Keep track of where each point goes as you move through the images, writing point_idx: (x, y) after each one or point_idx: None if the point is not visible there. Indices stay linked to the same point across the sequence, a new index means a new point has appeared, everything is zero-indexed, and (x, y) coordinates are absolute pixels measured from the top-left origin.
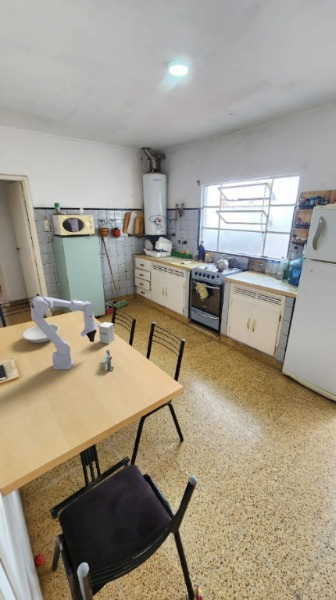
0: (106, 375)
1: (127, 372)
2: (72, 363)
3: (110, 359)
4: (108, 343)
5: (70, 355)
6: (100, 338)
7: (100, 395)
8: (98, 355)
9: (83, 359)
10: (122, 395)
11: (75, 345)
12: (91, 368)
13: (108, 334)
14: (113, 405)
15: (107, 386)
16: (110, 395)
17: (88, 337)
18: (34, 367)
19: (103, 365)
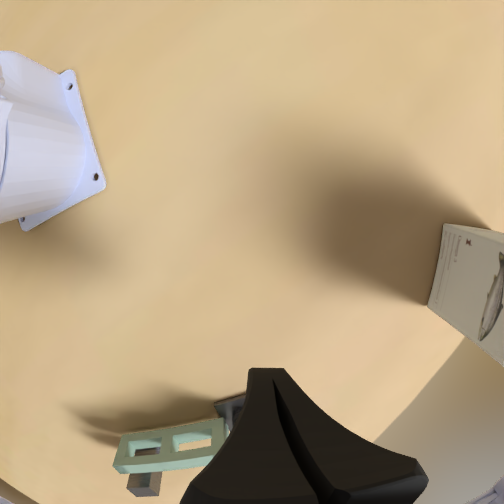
0: (103, 450)
1: (172, 499)
2: (69, 204)
3: (232, 428)
4: (430, 304)
5: (21, 208)
6: (465, 238)
7: (22, 451)
8: (259, 329)
9: (160, 244)
10: (69, 497)
11: (344, 33)
12: (99, 366)
13: (481, 346)
14: (30, 481)
15: (61, 463)
16: (44, 474)
17: (240, 420)
18: (13, 6)
19: (119, 456)
